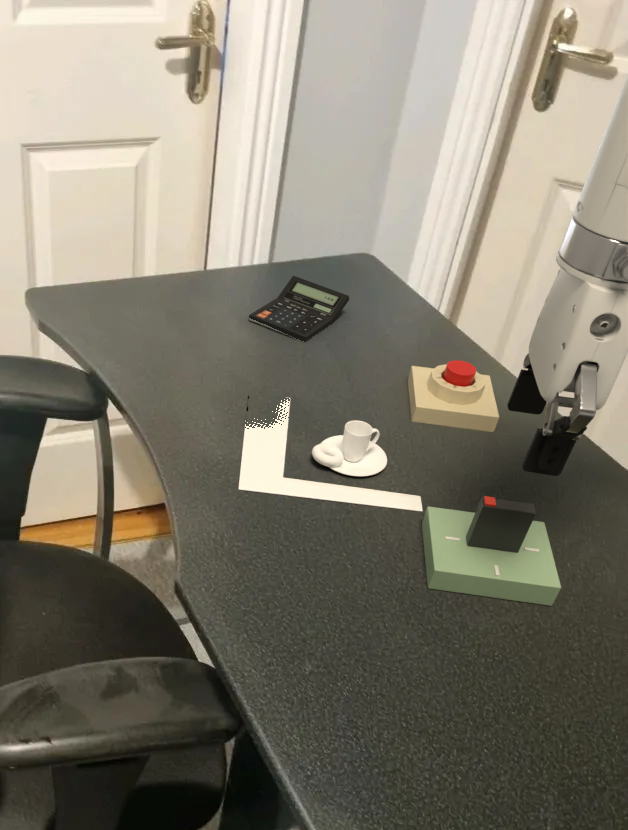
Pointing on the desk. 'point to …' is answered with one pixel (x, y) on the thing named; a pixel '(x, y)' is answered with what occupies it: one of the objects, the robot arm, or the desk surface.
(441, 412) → the button base
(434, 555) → the panel
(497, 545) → the knob
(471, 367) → the button
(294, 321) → the calculator
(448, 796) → the desk surface
